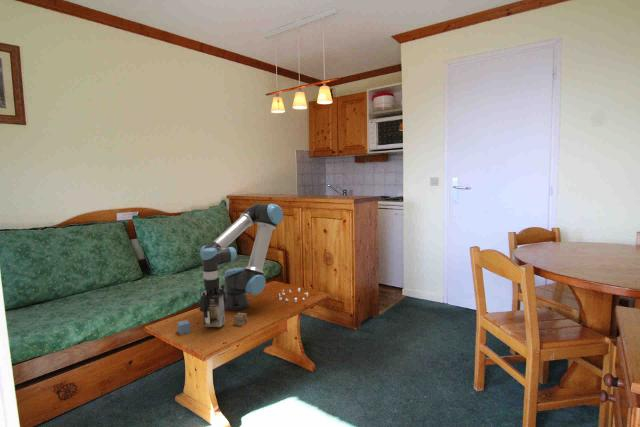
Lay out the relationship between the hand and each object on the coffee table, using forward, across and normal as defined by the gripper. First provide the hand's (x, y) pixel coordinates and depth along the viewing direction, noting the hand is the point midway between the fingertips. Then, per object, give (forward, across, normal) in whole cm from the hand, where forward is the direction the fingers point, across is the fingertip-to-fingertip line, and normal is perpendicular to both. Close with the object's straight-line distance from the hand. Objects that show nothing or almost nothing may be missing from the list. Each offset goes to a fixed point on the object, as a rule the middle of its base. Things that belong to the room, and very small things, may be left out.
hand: (214, 319), depth 195 cm
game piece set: (+5, -57, +8) cm, 57 cm away
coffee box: (+3, 0, 0) cm, 3 cm away
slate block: (+4, +12, -9) cm, 16 cm away
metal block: (+4, -10, +9) cm, 14 cm away
